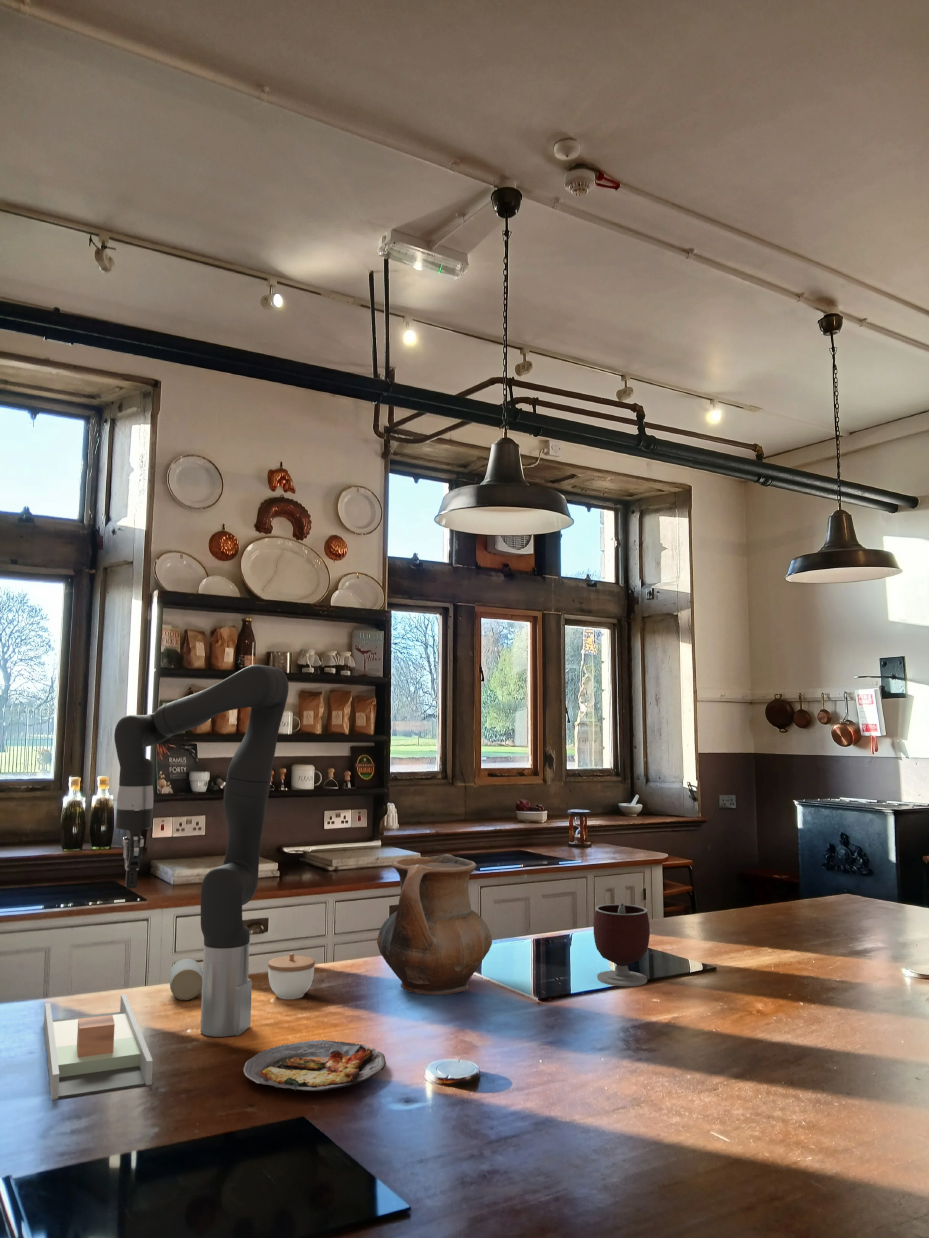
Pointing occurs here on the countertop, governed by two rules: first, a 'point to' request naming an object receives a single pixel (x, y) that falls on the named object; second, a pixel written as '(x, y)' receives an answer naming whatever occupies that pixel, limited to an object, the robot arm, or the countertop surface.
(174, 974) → the ceramic mug
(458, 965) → the jug
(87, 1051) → the block
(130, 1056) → the pad
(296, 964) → the lidded jar
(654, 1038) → the countertop surface
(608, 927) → the mate gourd
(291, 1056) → the food plate
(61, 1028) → the trap channel
